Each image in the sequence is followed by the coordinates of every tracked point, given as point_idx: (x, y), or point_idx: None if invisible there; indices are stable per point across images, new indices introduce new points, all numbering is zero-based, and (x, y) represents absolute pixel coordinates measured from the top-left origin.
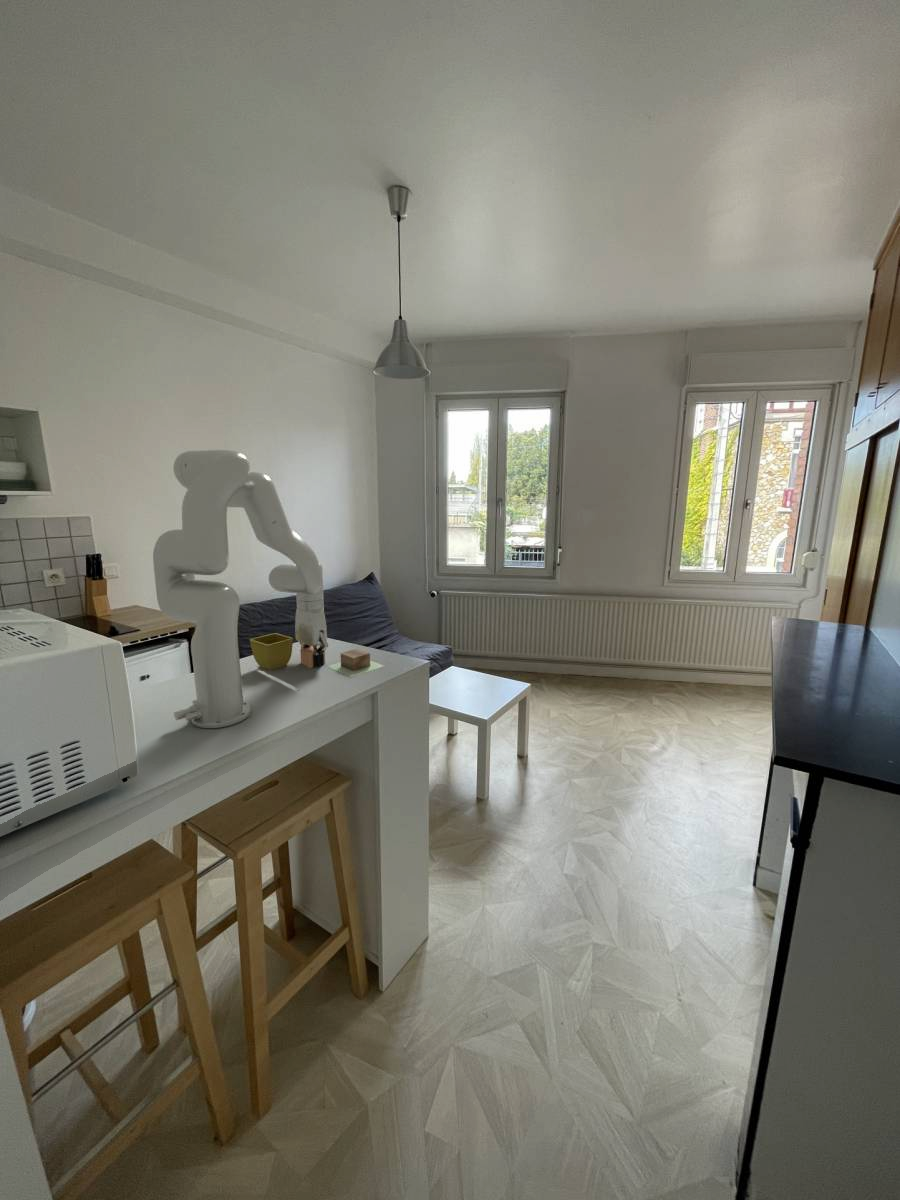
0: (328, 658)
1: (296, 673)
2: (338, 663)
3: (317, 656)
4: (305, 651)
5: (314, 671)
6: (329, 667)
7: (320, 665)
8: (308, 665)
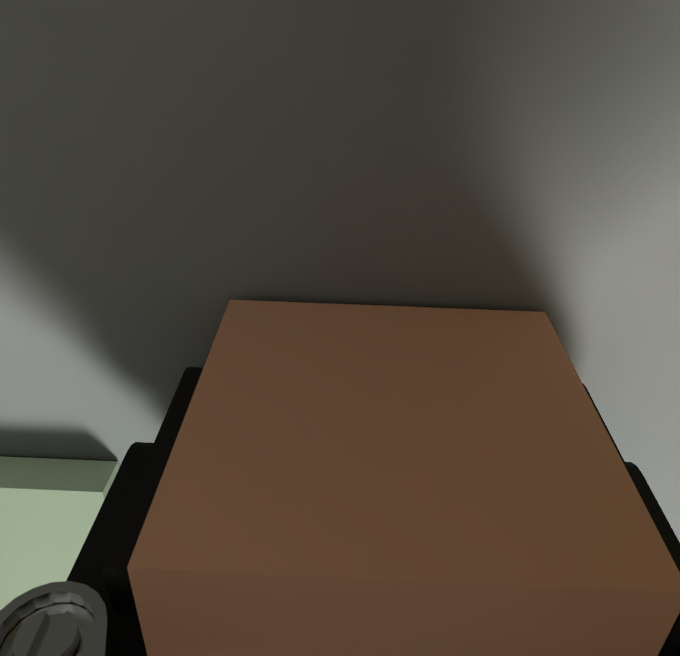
0: None
1: (278, 10)
2: None
3: (85, 580)
4: (392, 583)
5: (142, 305)
6: (28, 493)
7: None
8: (291, 338)
